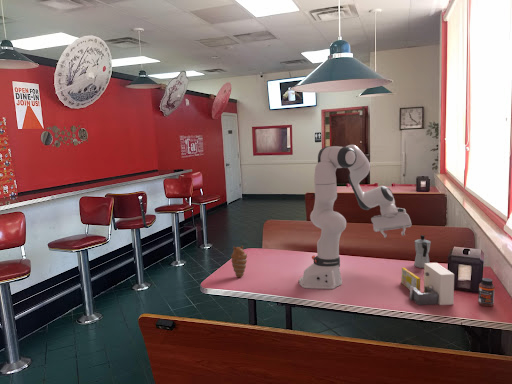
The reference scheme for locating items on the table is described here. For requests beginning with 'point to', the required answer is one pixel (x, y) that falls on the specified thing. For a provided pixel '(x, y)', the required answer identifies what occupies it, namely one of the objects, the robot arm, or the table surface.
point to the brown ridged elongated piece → (239, 261)
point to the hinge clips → (424, 296)
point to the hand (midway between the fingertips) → (394, 235)
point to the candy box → (410, 279)
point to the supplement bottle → (486, 292)
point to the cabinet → (440, 282)
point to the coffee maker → (422, 252)
